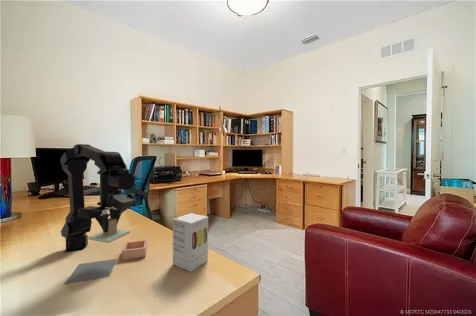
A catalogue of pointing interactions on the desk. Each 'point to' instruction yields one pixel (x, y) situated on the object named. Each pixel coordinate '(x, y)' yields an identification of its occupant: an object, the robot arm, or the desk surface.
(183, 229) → the supplement box
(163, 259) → the desk surface
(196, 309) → the desk surface
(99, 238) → the lid
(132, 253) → the dish
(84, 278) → the mat
